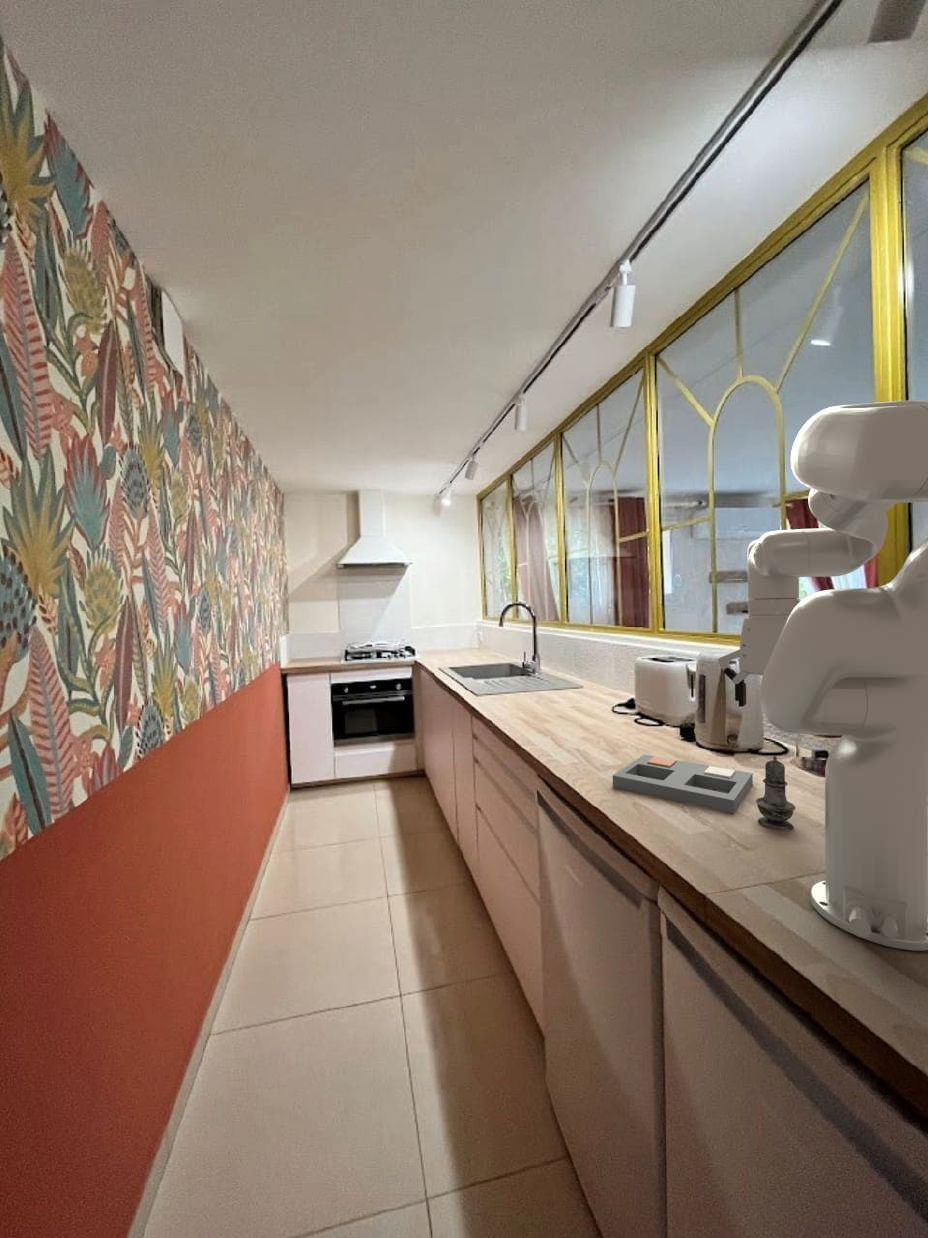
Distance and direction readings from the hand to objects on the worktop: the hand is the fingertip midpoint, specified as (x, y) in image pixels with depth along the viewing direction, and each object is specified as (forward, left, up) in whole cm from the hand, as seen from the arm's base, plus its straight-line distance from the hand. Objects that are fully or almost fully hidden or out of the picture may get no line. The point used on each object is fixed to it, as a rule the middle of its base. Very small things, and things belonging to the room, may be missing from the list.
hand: (773, 708), depth 85 cm
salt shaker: (0, 0, -20) cm, 20 cm away
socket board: (+10, +18, -20) cm, 29 cm away
